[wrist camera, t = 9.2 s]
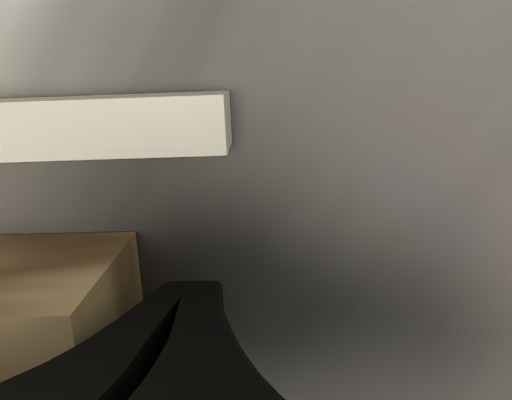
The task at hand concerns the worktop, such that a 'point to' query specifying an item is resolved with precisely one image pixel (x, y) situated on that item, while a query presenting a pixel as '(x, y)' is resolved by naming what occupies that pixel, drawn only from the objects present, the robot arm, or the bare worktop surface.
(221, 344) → the robot arm
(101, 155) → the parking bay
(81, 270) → the oak block
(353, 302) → the worktop surface
